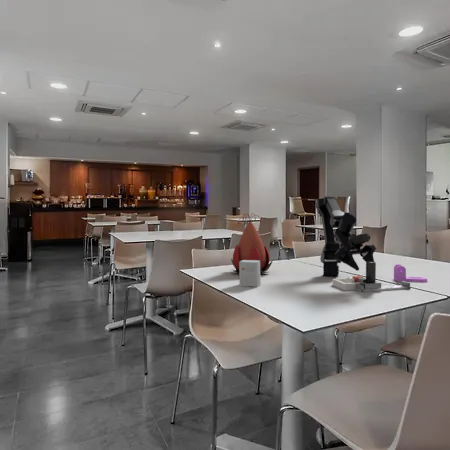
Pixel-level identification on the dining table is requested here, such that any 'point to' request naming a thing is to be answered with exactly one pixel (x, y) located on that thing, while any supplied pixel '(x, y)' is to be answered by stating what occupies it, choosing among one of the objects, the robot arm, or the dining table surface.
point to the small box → (249, 273)
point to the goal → (344, 284)
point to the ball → (349, 280)
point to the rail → (384, 287)
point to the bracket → (401, 275)
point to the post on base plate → (368, 277)
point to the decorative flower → (251, 248)
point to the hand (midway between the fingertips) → (366, 268)
